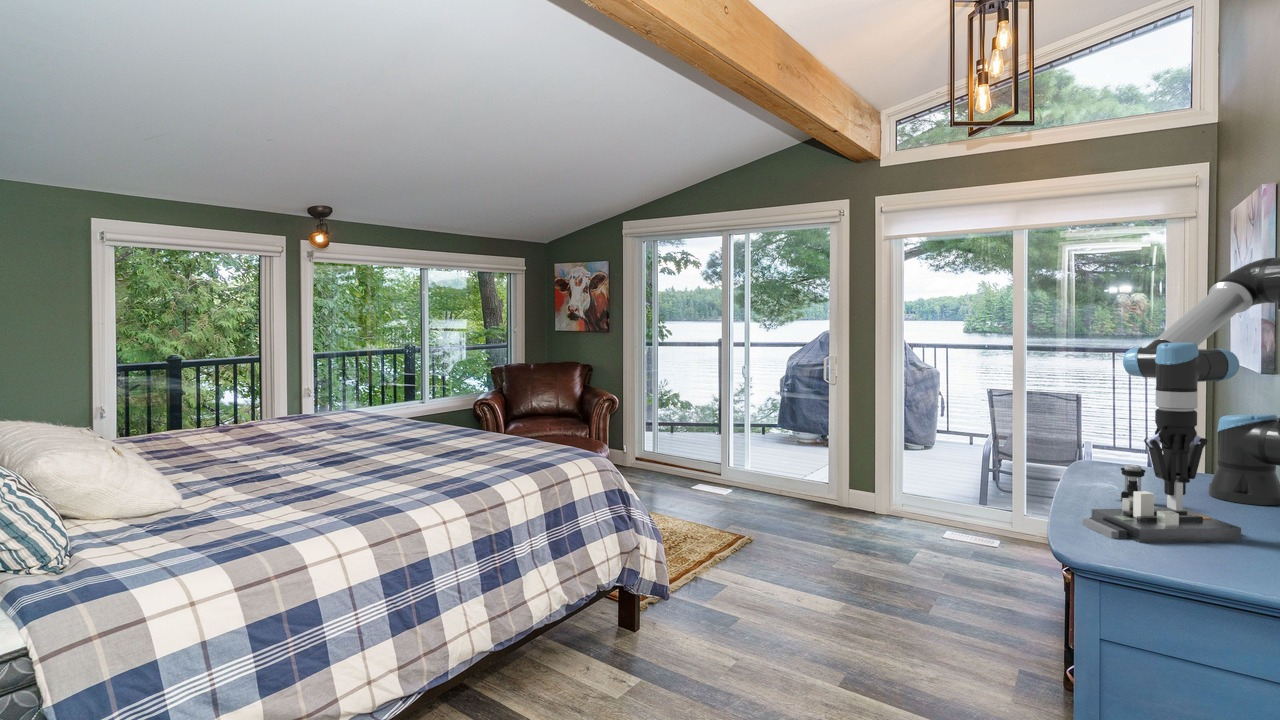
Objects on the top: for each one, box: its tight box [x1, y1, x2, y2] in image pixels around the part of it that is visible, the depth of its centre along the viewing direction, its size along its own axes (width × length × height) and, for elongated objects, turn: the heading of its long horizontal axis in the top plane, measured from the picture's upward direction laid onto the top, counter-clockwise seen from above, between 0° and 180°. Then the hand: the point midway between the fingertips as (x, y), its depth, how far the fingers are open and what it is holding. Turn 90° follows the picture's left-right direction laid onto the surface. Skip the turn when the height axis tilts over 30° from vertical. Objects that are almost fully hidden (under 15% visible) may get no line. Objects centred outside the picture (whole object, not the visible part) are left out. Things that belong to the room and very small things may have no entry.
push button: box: [1114, 464, 1146, 502], centre depth 175 cm, size 7×5×10 cm
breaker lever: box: [1133, 490, 1155, 518], centre depth 151 cm, size 3×2×6 cm
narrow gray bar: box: [1082, 517, 1128, 539], centre depth 152 cm, size 3×10×2 cm, turn 178°
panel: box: [1091, 498, 1242, 544], centre depth 151 cm, size 22×16×6 cm
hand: (1174, 508), depth 151 cm, fingers closed
